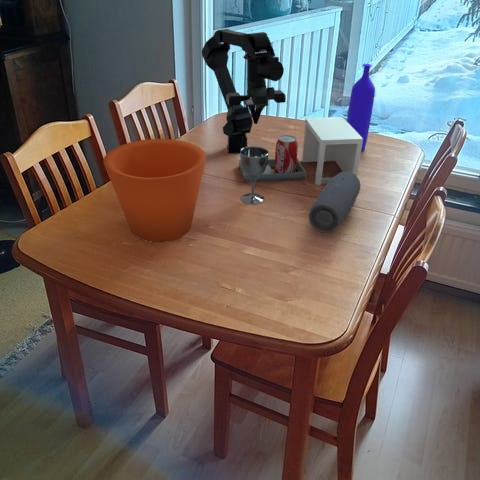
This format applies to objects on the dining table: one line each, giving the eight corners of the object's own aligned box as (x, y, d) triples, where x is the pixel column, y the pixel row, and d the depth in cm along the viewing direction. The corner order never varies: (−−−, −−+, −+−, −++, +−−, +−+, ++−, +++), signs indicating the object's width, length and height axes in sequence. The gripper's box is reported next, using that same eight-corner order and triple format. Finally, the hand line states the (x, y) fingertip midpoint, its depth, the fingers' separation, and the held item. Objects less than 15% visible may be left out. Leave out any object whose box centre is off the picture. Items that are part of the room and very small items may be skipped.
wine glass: (269, 195, 145) (271, 148, 136) (261, 207, 138) (263, 158, 130) (244, 190, 147) (245, 144, 139) (235, 202, 140) (236, 154, 132)
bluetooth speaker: (328, 196, 145) (333, 166, 139) (359, 203, 141) (364, 172, 136) (304, 232, 127) (308, 199, 122) (338, 240, 124) (343, 207, 119)
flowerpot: (187, 259, 116) (184, 186, 105) (95, 242, 121) (83, 171, 110) (219, 211, 136) (219, 145, 125) (139, 198, 141) (132, 134, 130)
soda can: (296, 177, 155) (299, 142, 149) (274, 177, 155) (276, 142, 149) (294, 168, 161) (297, 134, 155) (273, 168, 161) (275, 134, 155)
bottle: (367, 146, 179) (382, 63, 163) (362, 153, 173) (377, 68, 157) (346, 142, 182) (358, 60, 166) (340, 149, 176) (352, 65, 160)
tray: (244, 182, 152) (244, 175, 150) (239, 166, 161) (239, 160, 160) (305, 180, 154) (306, 172, 153) (296, 164, 164) (297, 157, 163)
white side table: (316, 185, 151) (321, 140, 143) (301, 159, 168) (305, 118, 159) (355, 183, 153) (363, 138, 144) (336, 158, 169) (342, 117, 161)
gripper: (231, 82, 143) (232, 133, 151) (291, 79, 146) (289, 129, 154) (225, 74, 153) (226, 122, 161) (281, 72, 156) (280, 119, 164)
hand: (255, 123), depth 160 cm, fingers closed
